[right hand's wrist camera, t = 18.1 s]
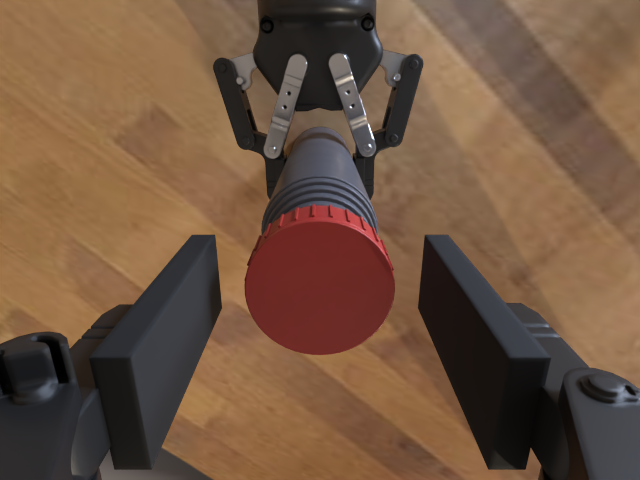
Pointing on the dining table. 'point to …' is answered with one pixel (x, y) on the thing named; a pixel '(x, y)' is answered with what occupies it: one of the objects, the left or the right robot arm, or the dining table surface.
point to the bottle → (319, 179)
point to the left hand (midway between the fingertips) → (321, 204)
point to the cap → (319, 281)
